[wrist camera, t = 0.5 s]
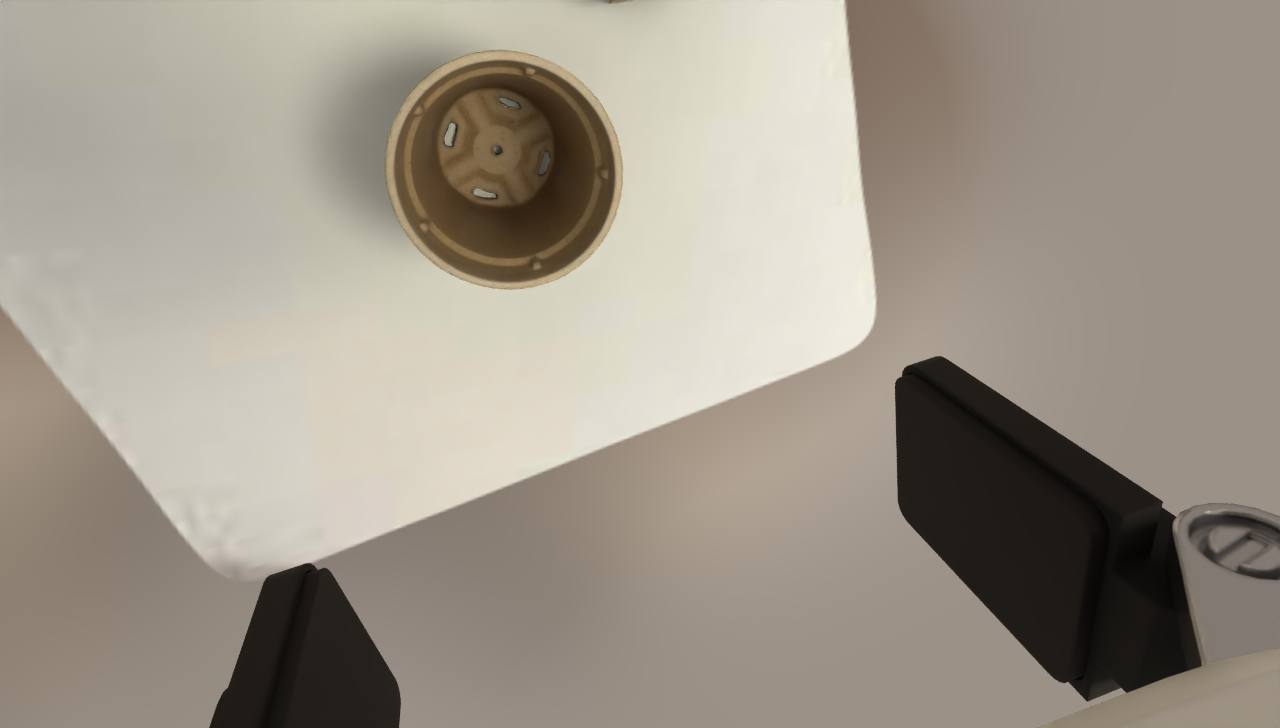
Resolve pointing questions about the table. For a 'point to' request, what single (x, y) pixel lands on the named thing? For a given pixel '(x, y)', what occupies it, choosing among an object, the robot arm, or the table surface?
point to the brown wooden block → (618, 1)
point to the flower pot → (504, 170)
